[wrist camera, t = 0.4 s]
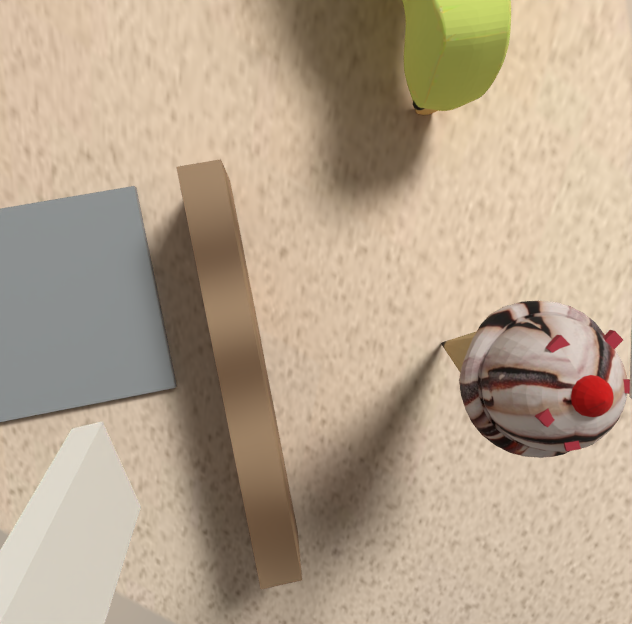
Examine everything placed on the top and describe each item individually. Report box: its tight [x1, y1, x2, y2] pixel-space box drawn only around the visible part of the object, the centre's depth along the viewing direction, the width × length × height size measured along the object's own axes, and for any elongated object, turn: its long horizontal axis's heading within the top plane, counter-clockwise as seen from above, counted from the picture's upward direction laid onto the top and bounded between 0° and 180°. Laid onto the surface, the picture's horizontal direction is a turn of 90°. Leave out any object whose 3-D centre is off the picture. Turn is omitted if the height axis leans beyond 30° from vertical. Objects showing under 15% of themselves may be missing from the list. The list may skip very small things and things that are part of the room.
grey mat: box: [0, 186, 177, 422], centre depth 28 cm, size 11×10×1 cm
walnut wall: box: [177, 160, 302, 589], centre depth 27 cm, size 20×2×5 cm, turn 10°
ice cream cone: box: [441, 301, 630, 457], centre depth 23 cm, size 6×6×15 cm
